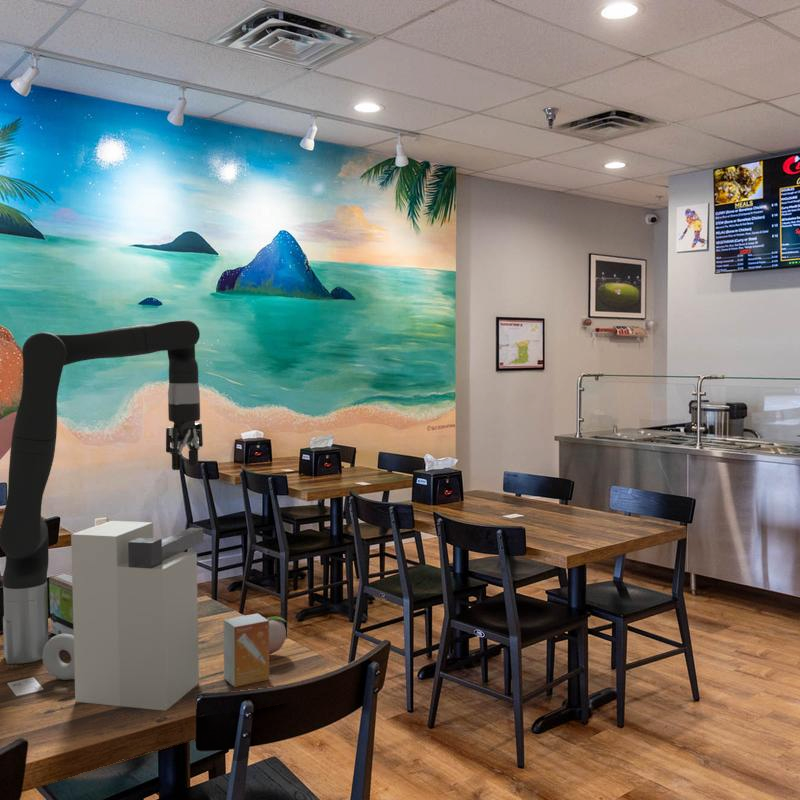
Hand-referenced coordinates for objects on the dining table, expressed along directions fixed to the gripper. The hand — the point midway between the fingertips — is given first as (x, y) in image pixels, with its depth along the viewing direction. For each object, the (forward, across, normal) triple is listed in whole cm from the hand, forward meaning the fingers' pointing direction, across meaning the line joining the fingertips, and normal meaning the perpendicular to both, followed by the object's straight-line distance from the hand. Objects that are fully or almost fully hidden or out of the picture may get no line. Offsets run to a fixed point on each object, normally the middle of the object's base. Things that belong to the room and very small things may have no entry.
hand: (185, 467), depth 202 cm
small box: (+42, +23, +26) cm, 54 cm away
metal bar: (+14, +29, +11) cm, 34 cm away
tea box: (+42, +5, -26) cm, 50 cm away
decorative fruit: (+42, +9, +25) cm, 50 cm away
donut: (+42, +31, -13) cm, 54 cm away
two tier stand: (+42, +34, +6) cm, 54 cm away
